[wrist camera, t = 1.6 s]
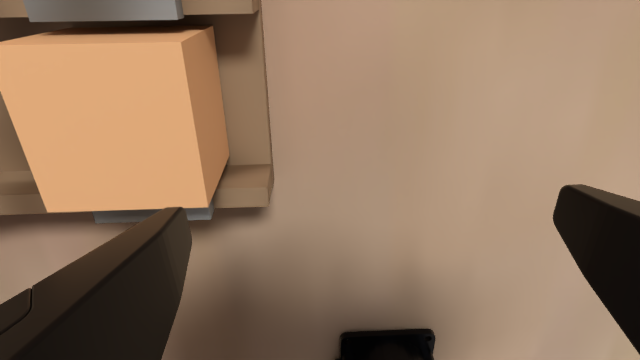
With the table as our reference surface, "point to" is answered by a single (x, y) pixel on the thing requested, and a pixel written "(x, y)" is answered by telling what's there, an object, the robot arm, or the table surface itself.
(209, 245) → the table surface
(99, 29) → the block
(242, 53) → the chute
